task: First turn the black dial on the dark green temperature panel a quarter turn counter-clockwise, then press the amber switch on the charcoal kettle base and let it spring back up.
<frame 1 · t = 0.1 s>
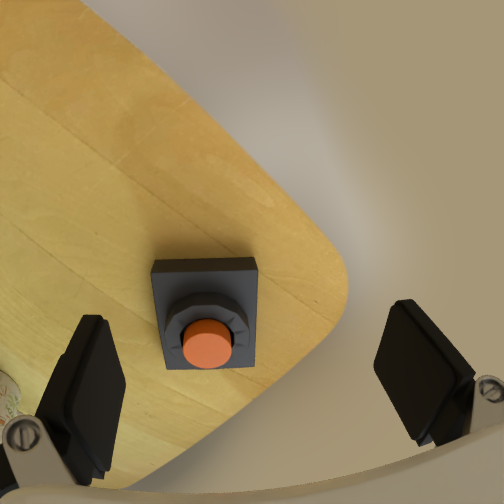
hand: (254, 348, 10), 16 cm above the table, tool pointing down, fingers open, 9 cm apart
kettle base: (206, 310, 28), on the table
mug: (15, 392, 30), on the table
kettle switch: (207, 344, 24), point 4 cm above the table, slide at 0.1 cm
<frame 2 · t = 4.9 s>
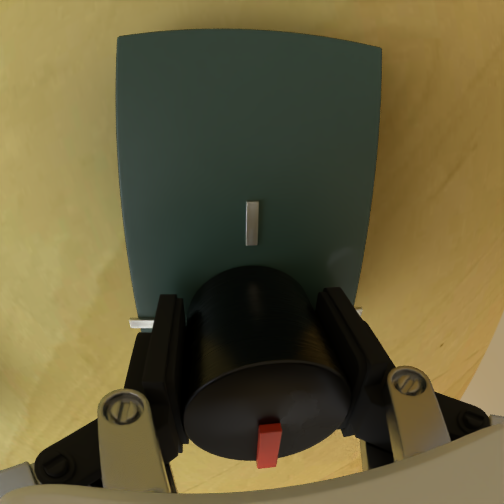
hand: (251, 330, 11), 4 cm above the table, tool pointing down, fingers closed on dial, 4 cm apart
dial panel: (242, 199, 13), on the table
dial: (258, 366, 9), point 5 cm above the table, hinge at 0.2°, touching gripper
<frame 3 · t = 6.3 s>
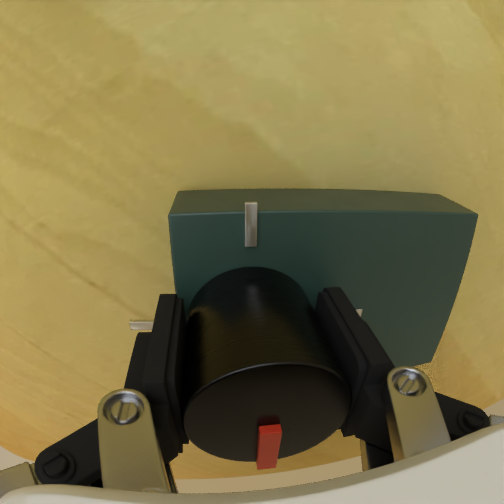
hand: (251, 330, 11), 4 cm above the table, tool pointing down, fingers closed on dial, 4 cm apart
dial panel: (318, 275, 15), on the table
dial: (258, 367, 9), point 5 cm above the table, hinge at 89.5°, touching gripper
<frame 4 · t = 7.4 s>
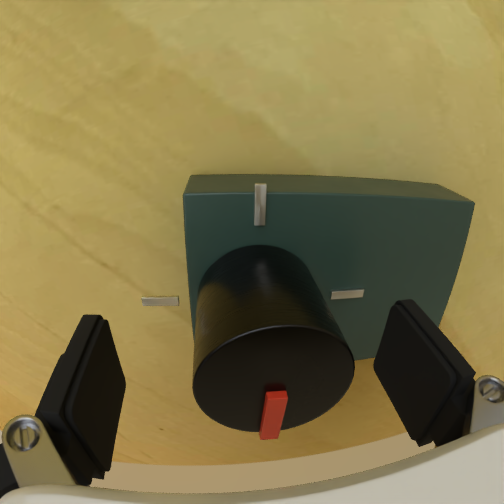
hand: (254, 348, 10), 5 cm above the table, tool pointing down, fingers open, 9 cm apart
dial panel: (322, 259, 15), on the table
dial: (265, 339, 10), point 5 cm above the table, hinge at 87.2°
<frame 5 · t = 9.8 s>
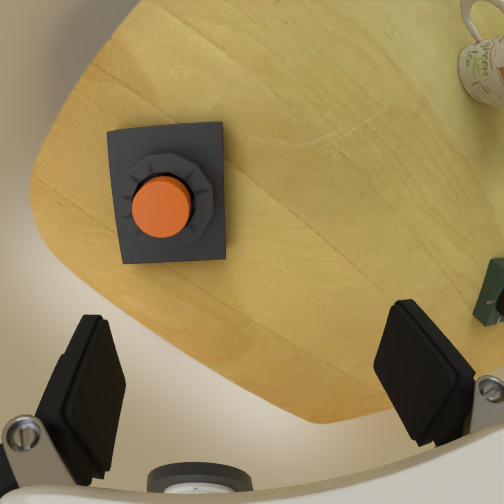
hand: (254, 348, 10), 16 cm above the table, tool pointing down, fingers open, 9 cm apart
kettle base: (170, 189, 24), on the table
mug: (467, 55, 21), on the table
kettle switch: (162, 206, 20), point 4 cm above the table, slide at 0.1 cm
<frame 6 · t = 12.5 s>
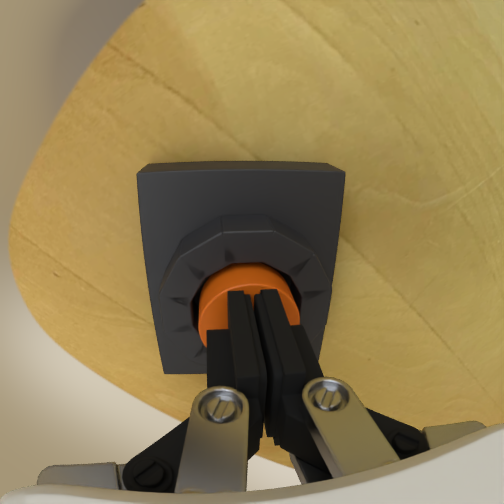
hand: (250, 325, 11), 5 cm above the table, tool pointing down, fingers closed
kettle base: (238, 265, 16), on the table
kettle switch: (247, 314, 12), point 4 cm above the table, slide at -0.3 cm, touching gripper
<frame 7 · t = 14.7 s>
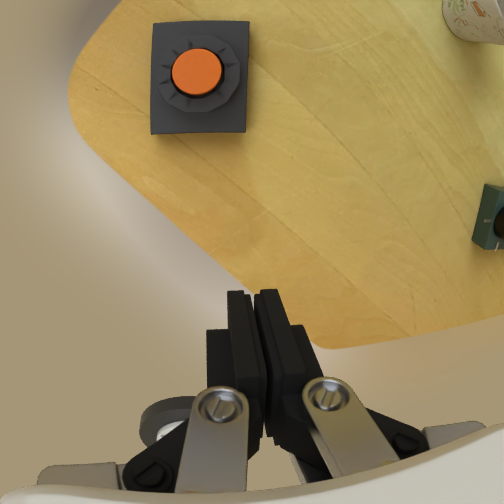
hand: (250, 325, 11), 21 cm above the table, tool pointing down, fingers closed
dial panel: (502, 214, 35), on the table
kettle base: (199, 77, 25), on the table
mug: (450, 2, 22), on the table
kettle switch: (197, 72, 21), point 4 cm above the table, slide at 0.1 cm
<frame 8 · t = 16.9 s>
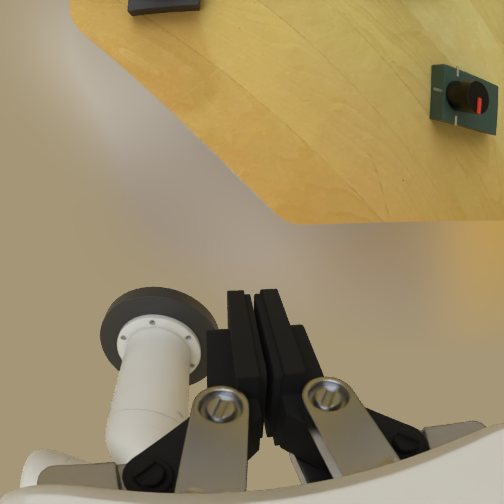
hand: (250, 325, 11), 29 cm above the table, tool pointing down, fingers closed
dial panel: (460, 100, 36), on the table
dial: (468, 96, 31), point 5 cm above the table, hinge at 87.2°
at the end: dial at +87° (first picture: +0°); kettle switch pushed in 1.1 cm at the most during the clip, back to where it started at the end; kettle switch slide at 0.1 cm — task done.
